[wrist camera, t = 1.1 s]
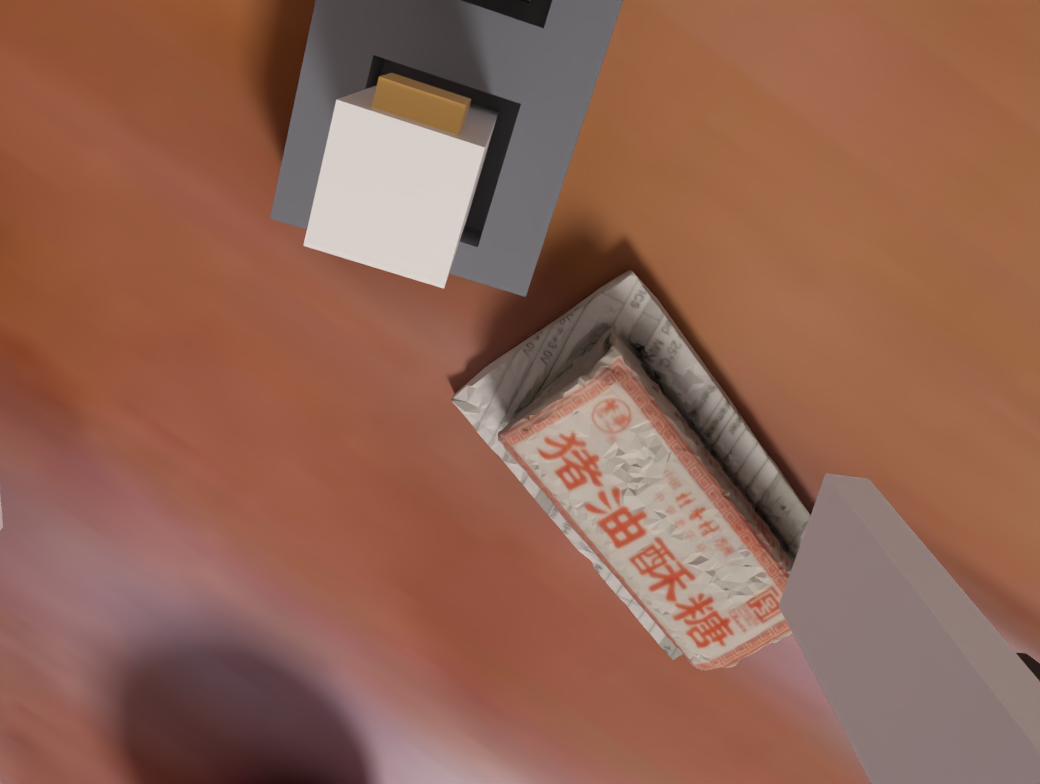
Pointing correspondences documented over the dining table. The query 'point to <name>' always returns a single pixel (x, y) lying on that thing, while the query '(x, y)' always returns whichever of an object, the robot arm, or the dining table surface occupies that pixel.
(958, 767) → the robot arm
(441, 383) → the dining table surface
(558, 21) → the socket strip
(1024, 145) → the dining table surface
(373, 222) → the plug
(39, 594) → the dining table surface
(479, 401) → the packaged product
